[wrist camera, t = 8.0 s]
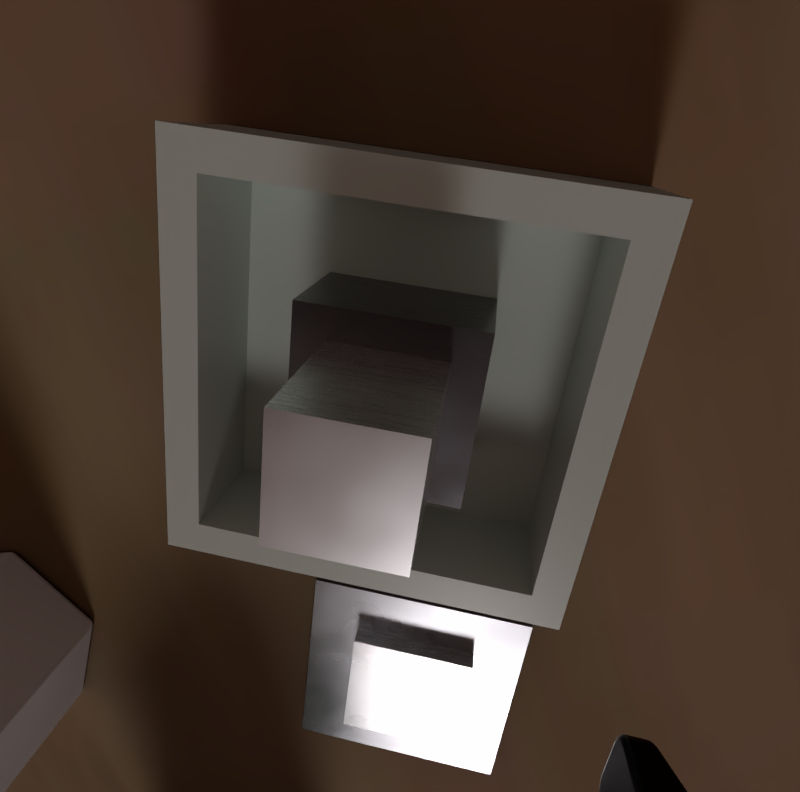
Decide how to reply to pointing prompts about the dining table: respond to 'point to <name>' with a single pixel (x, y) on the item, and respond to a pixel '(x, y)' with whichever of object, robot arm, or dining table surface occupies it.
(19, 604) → the jar
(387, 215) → the bin
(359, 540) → the grey square peg
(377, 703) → the base
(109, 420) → the dining table surface
